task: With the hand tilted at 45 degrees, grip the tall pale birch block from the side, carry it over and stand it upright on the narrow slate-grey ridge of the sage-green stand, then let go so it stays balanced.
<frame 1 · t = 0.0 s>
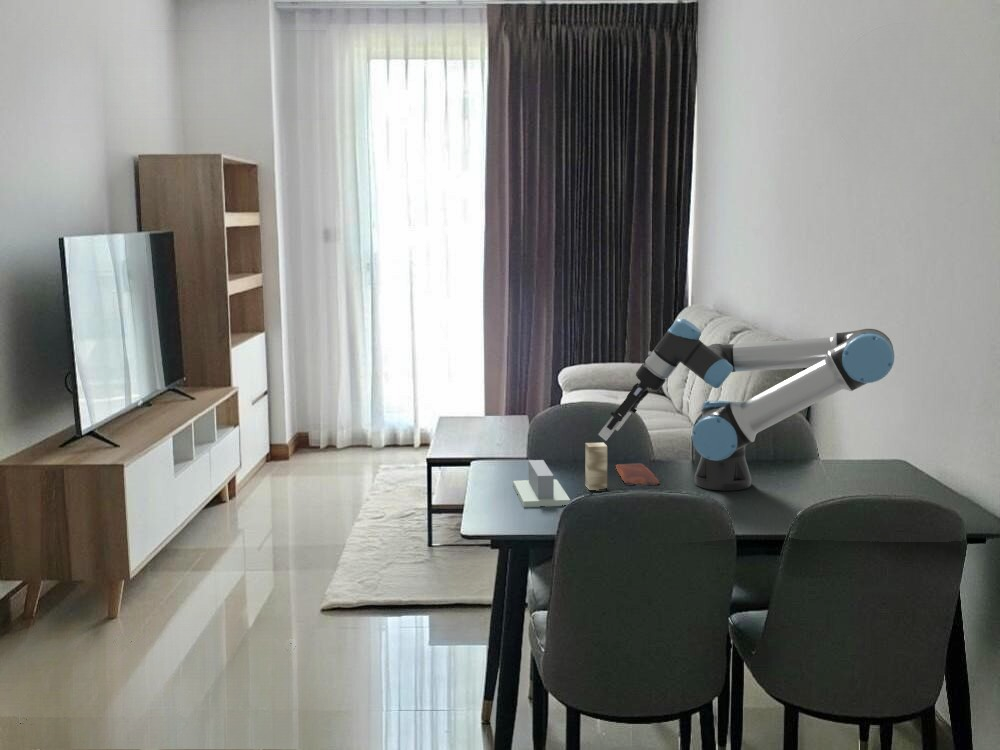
hand: (608, 432, 294), 15 cm above the table, tool tilted 35°, fingers open, 13 cm apart
wooden tablet: (636, 476, 312), on the table
ridge stand: (540, 495, 289), on the table
birch block: (596, 488, 297), on the table
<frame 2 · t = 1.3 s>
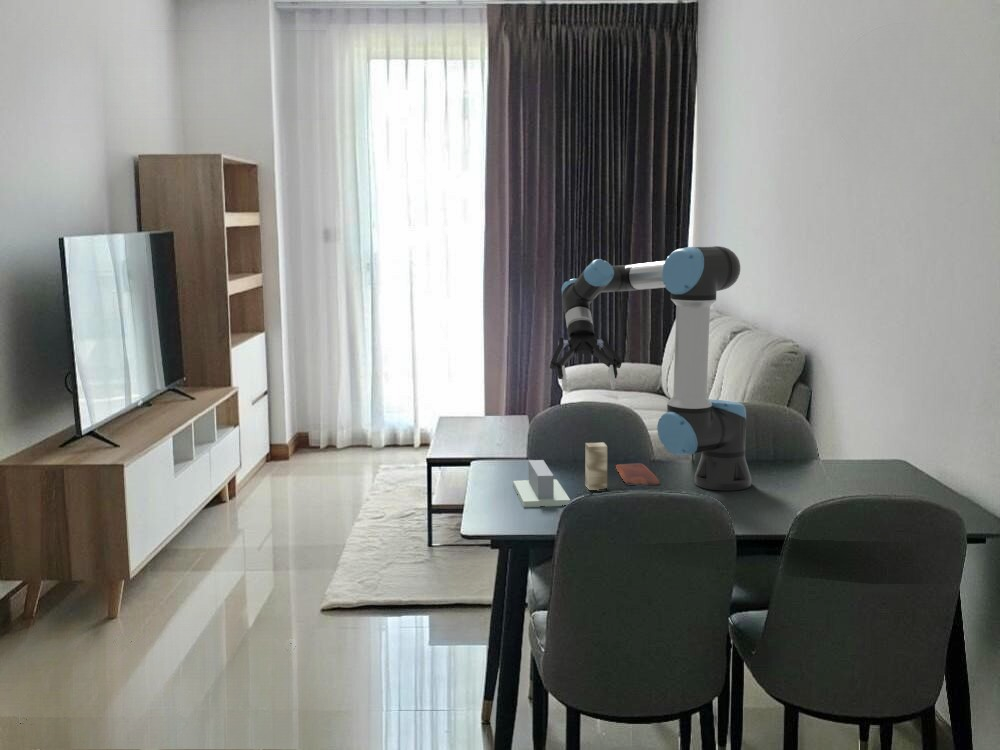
hand: (589, 387, 303), 26 cm above the table, tool tilted 45°, fingers open, 13 cm apart
nothing on the table moved.
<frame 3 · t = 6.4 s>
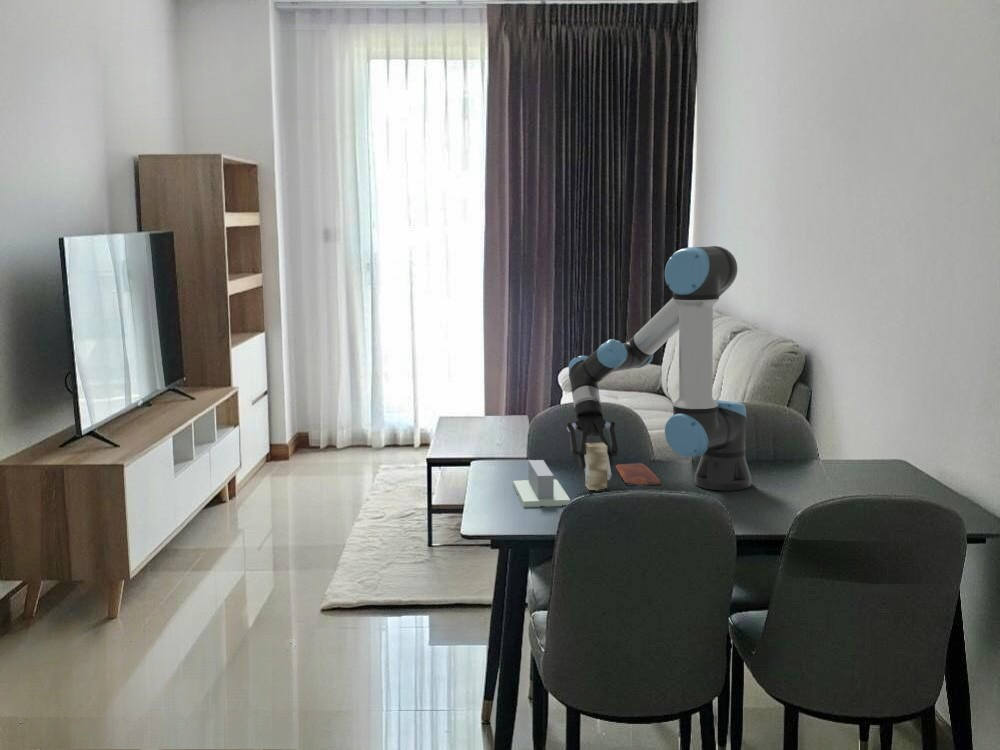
hand: (598, 477, 292), 4 cm above the table, tool tilted 45°, fingers closed on birch block, 5 cm apart
birch block: (596, 488, 297), on the table, touching gripper
everything else where it was.
when the fingers open (12 cm above the table, at t = 10.5 s): birch block stays where it is, resting on ridge stand.
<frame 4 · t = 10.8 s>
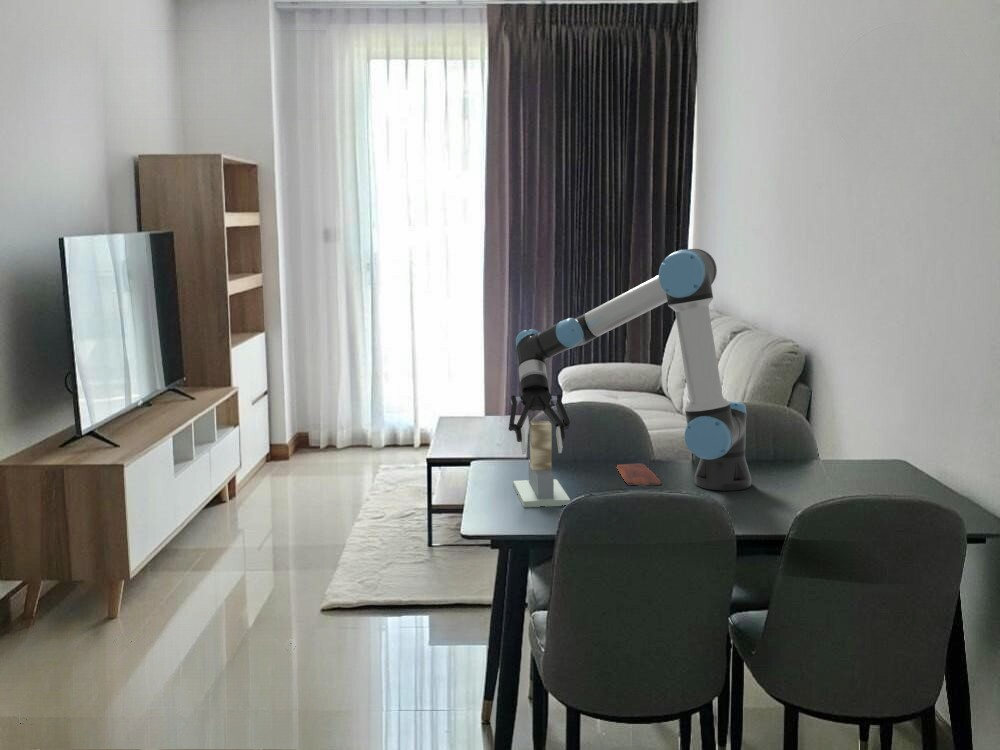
hand: (542, 450, 284), 13 cm above the table, tool tilted 45°, fingers open, 9 cm apart
birch block: (540, 467, 288), point 7 cm above the table, touching ridge stand
everything else where it was.
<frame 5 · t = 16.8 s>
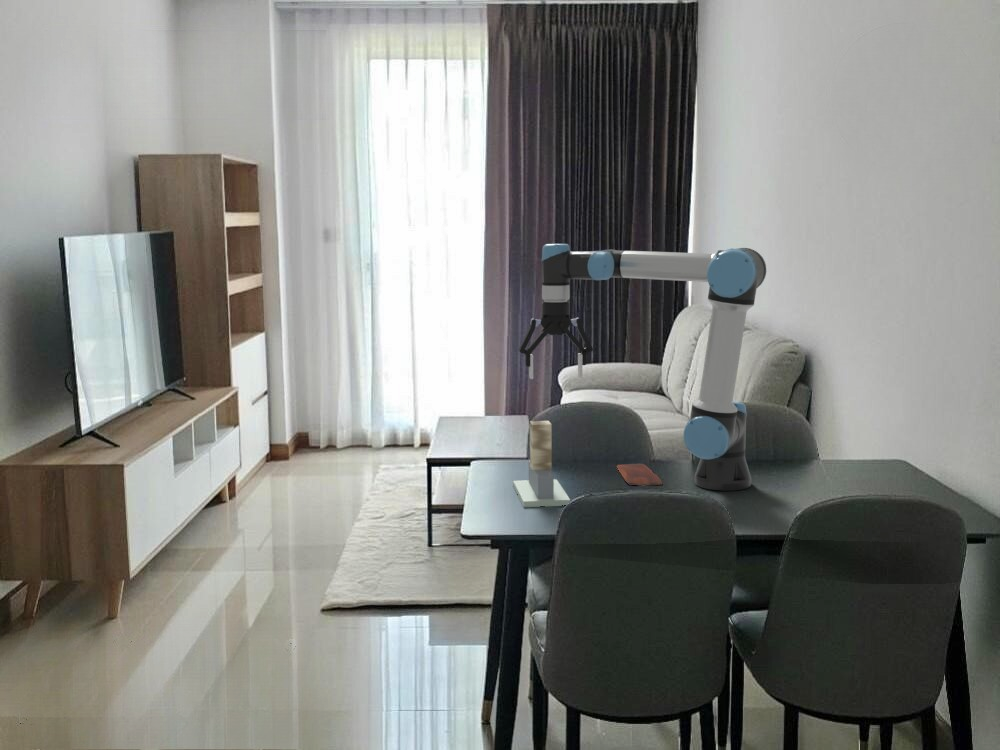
hand: (555, 377, 302), 29 cm above the table, tool pointing down, fingers open, 13 cm apart
nothing on the table moved.
at the end: birch block 0.1 cm off-centre on the ridge stand, point 7.5 cm above the ridge stand's base; birch block tilted 0°; the gripper is holding nothing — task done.
